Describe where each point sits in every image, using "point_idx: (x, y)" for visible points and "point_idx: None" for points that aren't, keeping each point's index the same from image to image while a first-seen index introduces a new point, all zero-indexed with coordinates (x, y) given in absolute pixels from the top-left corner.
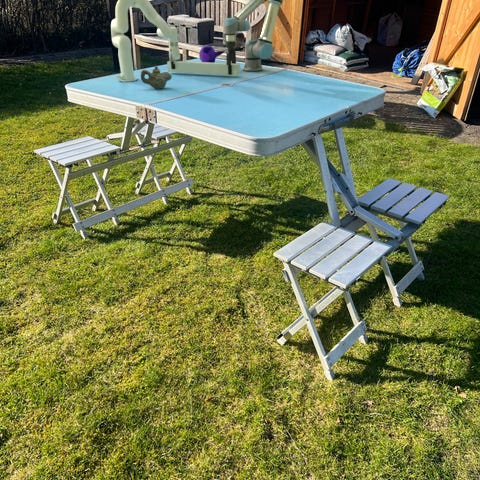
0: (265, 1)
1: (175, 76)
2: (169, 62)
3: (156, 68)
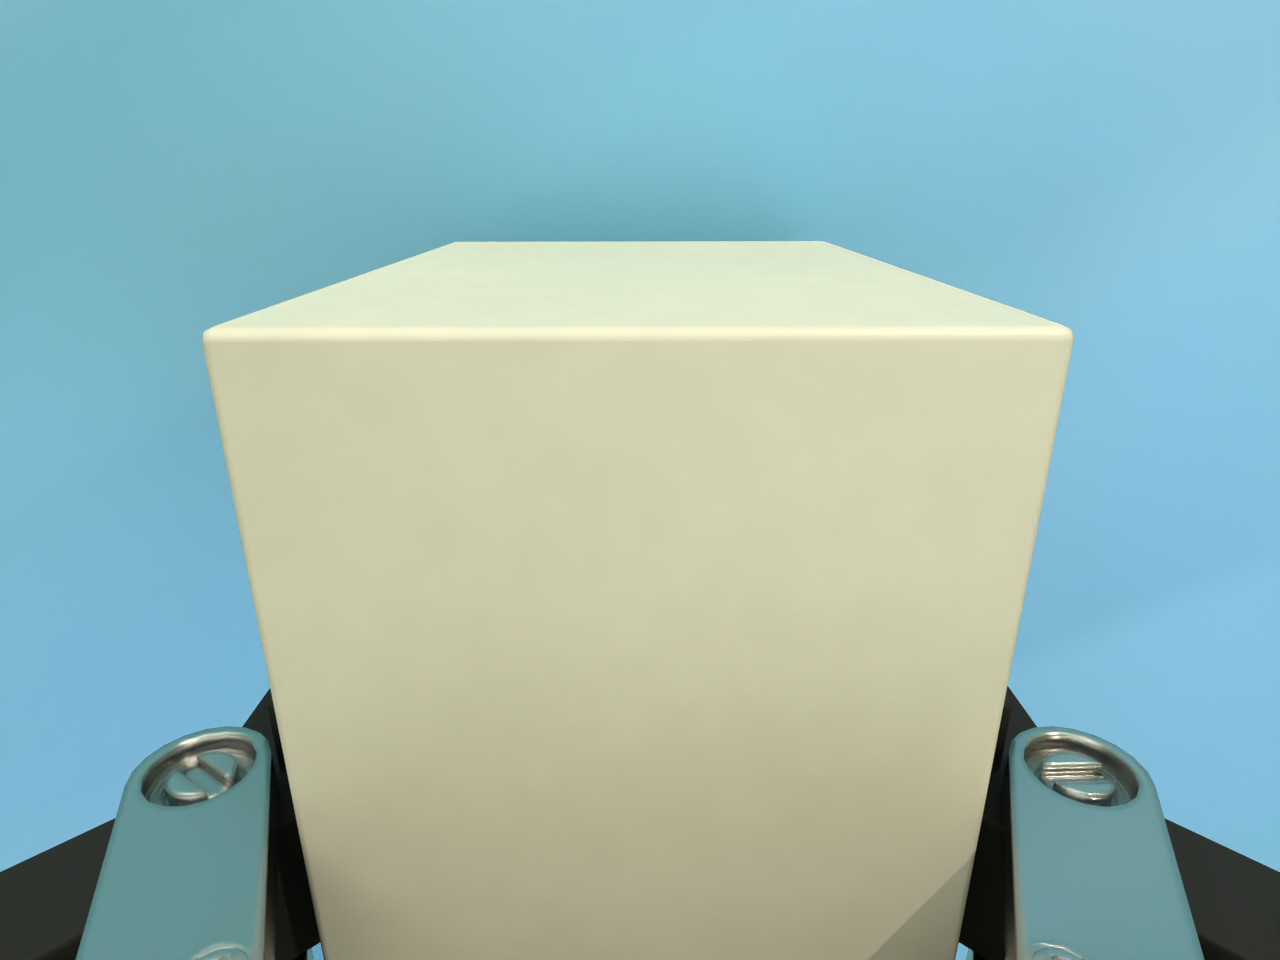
0: None
1: (175, 735)
2: (267, 598)
3: None
